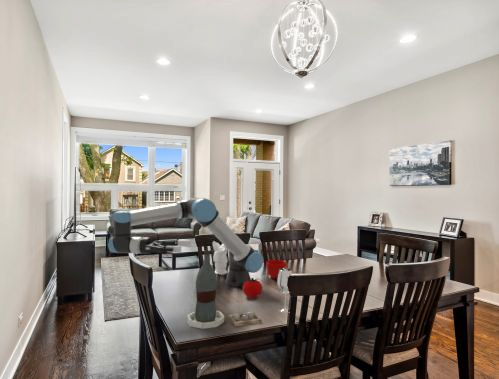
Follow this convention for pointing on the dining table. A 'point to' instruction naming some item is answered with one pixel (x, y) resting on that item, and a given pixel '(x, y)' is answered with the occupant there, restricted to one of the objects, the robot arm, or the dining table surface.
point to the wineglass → (283, 285)
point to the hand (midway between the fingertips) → (186, 246)
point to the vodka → (206, 292)
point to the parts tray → (247, 322)
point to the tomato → (252, 288)
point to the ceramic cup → (275, 267)
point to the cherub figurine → (220, 258)
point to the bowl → (192, 322)
